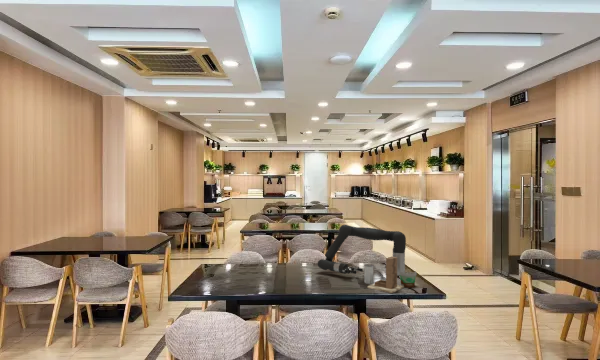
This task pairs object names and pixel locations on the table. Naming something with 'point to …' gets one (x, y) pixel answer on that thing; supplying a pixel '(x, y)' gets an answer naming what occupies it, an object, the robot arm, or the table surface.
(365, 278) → the grey rectangular block
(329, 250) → the robot arm
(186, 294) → the table surface
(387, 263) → the wooden backboard stand
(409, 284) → the food container
